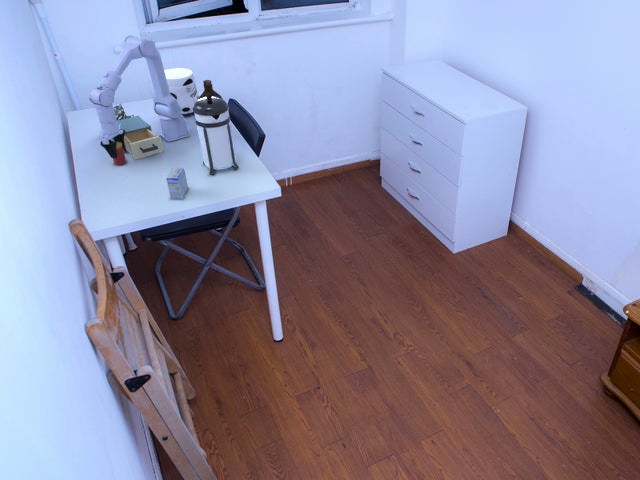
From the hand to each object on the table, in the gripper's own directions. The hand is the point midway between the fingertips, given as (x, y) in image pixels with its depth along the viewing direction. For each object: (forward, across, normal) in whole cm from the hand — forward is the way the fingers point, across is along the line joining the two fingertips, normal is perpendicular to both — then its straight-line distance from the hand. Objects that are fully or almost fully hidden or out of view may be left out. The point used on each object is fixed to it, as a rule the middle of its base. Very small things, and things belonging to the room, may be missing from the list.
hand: (117, 153), depth 214 cm
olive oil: (+4, +23, -32) cm, 40 cm away
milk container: (+4, +52, -11) cm, 54 cm away
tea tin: (+4, 0, 0) cm, 4 cm away
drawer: (+3, +8, -7) cm, 11 cm away
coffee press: (+4, -2, -38) cm, 39 cm away
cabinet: (+4, +18, +1) cm, 18 cm away
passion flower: (+4, +35, +11) cm, 37 cm away
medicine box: (+4, -24, -29) cm, 38 cm away
